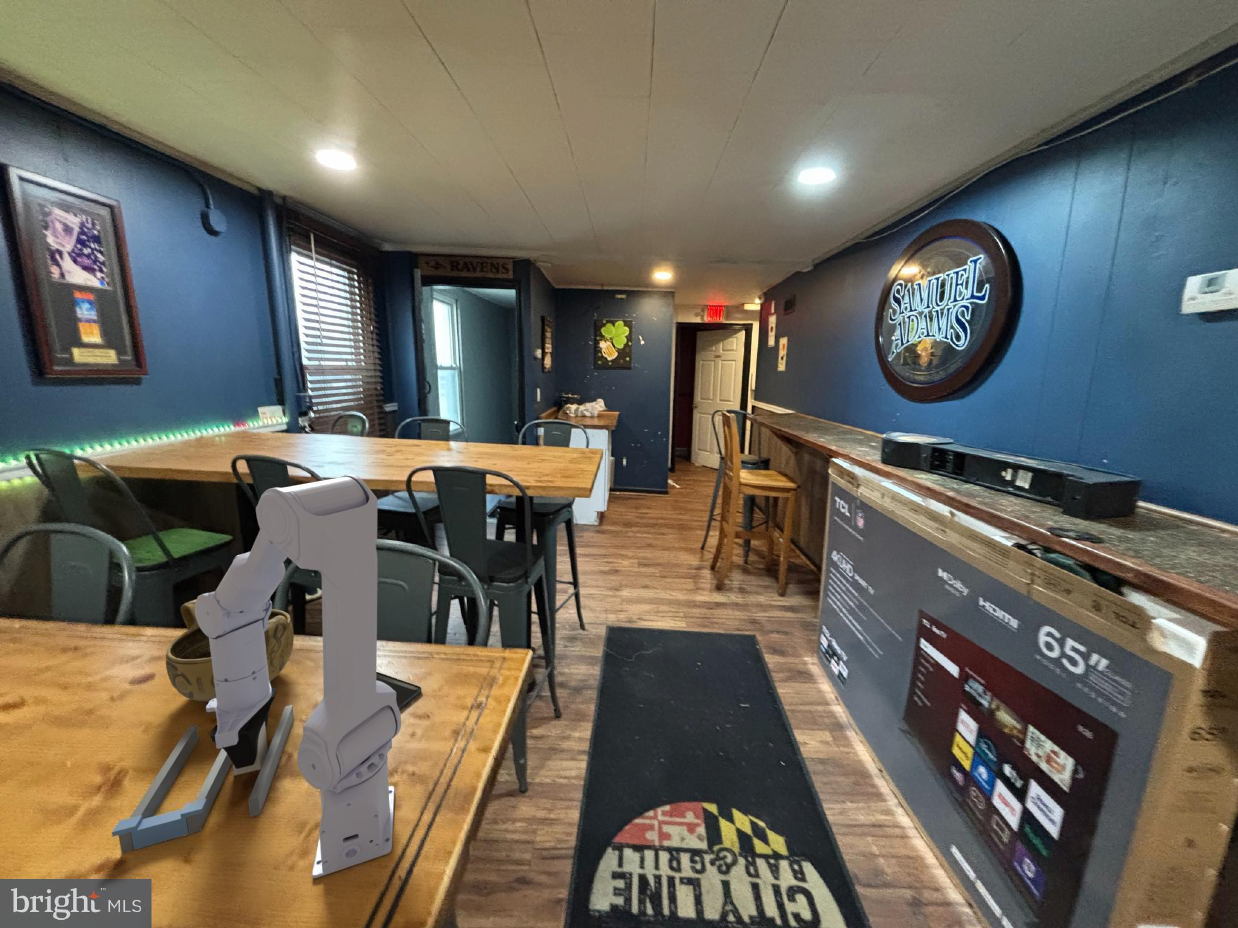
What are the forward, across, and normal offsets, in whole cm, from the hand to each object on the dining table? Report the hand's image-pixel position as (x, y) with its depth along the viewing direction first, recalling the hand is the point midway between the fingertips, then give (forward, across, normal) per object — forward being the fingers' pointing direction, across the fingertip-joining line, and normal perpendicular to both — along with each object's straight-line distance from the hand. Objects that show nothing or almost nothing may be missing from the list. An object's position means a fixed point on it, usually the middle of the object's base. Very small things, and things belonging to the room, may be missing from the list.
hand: (250, 753), depth 65 cm
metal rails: (+1, +1, -3) cm, 3 cm away
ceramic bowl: (+2, -20, -7) cm, 21 cm away
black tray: (+2, -10, +15) cm, 18 cm away
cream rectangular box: (+1, 0, 0) cm, 1 cm away
